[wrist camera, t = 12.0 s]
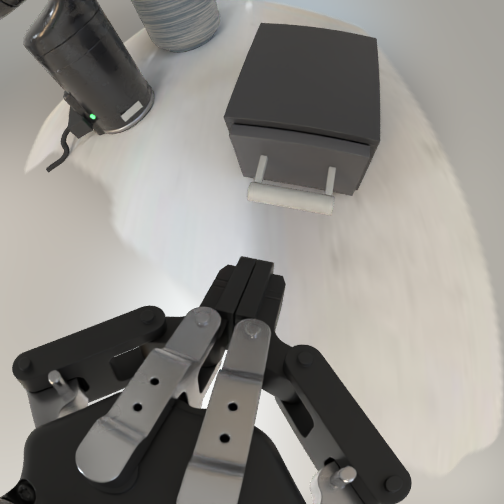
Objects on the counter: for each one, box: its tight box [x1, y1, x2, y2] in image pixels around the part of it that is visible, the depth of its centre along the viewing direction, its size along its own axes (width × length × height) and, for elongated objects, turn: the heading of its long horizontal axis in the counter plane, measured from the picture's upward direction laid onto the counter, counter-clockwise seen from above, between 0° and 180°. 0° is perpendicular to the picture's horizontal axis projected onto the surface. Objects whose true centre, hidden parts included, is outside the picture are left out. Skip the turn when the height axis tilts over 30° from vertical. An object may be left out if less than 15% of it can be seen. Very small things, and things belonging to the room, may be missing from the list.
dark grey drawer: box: [229, 124, 370, 216], centre depth 26 cm, size 18×11×8 cm, turn 167°
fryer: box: [224, 23, 380, 190], centre depth 27 cm, size 15×13×10 cm
